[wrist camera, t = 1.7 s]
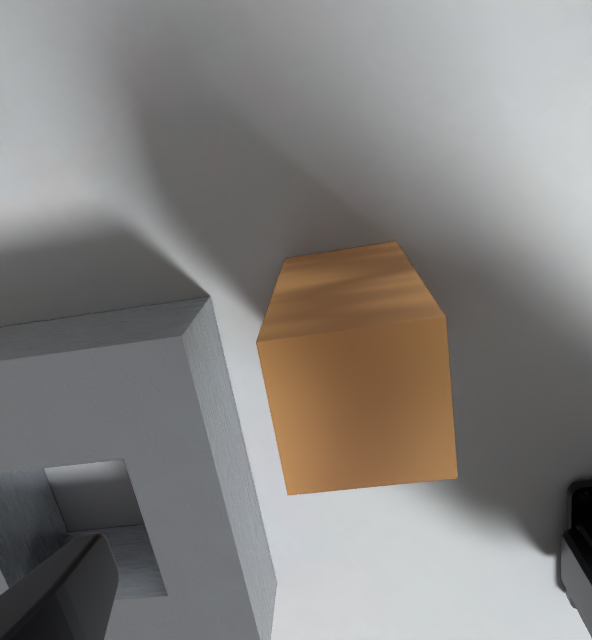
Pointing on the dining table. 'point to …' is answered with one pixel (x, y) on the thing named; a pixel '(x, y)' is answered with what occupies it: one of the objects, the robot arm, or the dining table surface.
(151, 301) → the dining table surface
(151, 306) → the gray block with handle
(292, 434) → the wooden block
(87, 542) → the robot arm
